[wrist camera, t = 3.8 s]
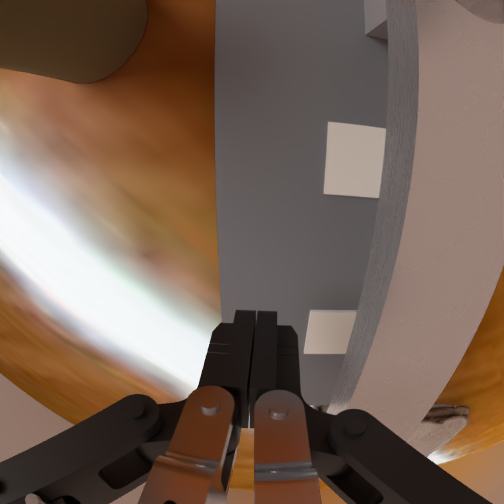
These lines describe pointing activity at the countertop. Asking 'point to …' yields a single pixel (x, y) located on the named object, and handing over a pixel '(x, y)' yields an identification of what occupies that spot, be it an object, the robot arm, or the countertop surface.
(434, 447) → the washcloth
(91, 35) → the cork
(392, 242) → the swing bar
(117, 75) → the countertop surface
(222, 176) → the label panel
